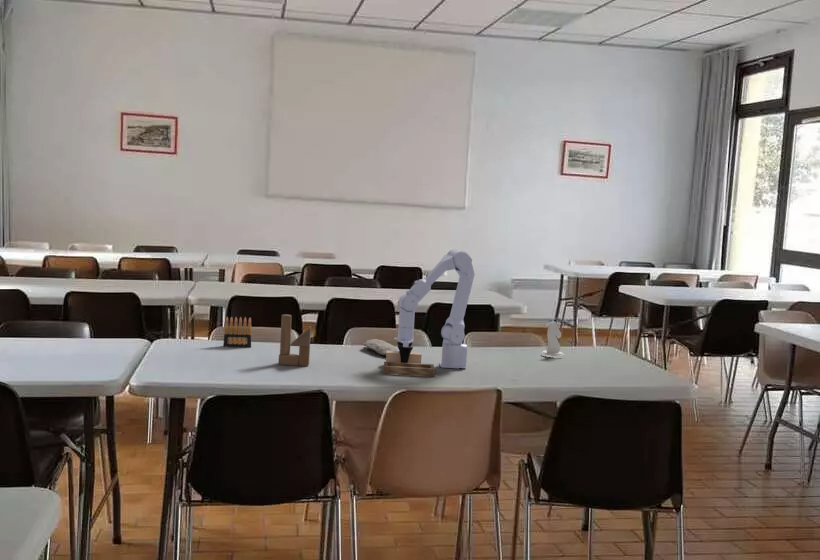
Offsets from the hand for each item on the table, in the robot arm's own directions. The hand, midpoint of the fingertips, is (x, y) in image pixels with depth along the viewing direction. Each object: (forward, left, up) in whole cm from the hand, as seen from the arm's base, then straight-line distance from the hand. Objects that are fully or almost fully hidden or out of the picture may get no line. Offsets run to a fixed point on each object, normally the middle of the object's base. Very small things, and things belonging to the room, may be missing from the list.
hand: (403, 362), depth 301 cm
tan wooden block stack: (+40, +7, -2) cm, 41 cm away
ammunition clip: (+65, -20, -2) cm, 68 cm away
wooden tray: (-2, +10, -1) cm, 11 cm away
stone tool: (+8, -24, -2) cm, 26 cm away
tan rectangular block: (0, 0, -2) cm, 2 cm away
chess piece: (-64, -37, -2) cm, 74 cm away
